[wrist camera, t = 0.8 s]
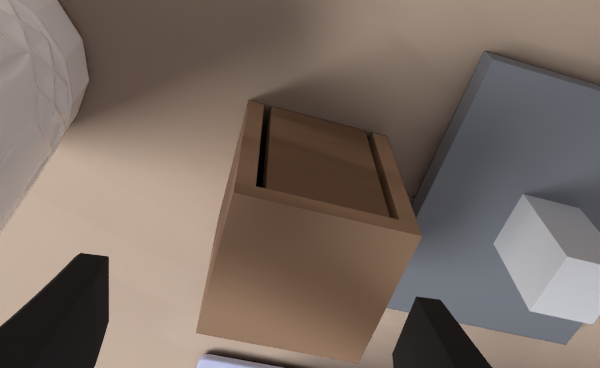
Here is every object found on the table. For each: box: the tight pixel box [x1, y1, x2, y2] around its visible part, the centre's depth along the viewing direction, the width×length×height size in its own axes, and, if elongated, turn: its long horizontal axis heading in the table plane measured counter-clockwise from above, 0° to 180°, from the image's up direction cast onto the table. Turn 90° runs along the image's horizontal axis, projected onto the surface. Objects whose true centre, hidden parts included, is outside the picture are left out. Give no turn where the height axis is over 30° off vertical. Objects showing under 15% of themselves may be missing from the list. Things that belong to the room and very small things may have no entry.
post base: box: [386, 51, 600, 345], centre depth 21 cm, size 12×10×5 cm
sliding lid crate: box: [196, 101, 422, 363], centre depth 19 cm, size 6×6×7 cm
